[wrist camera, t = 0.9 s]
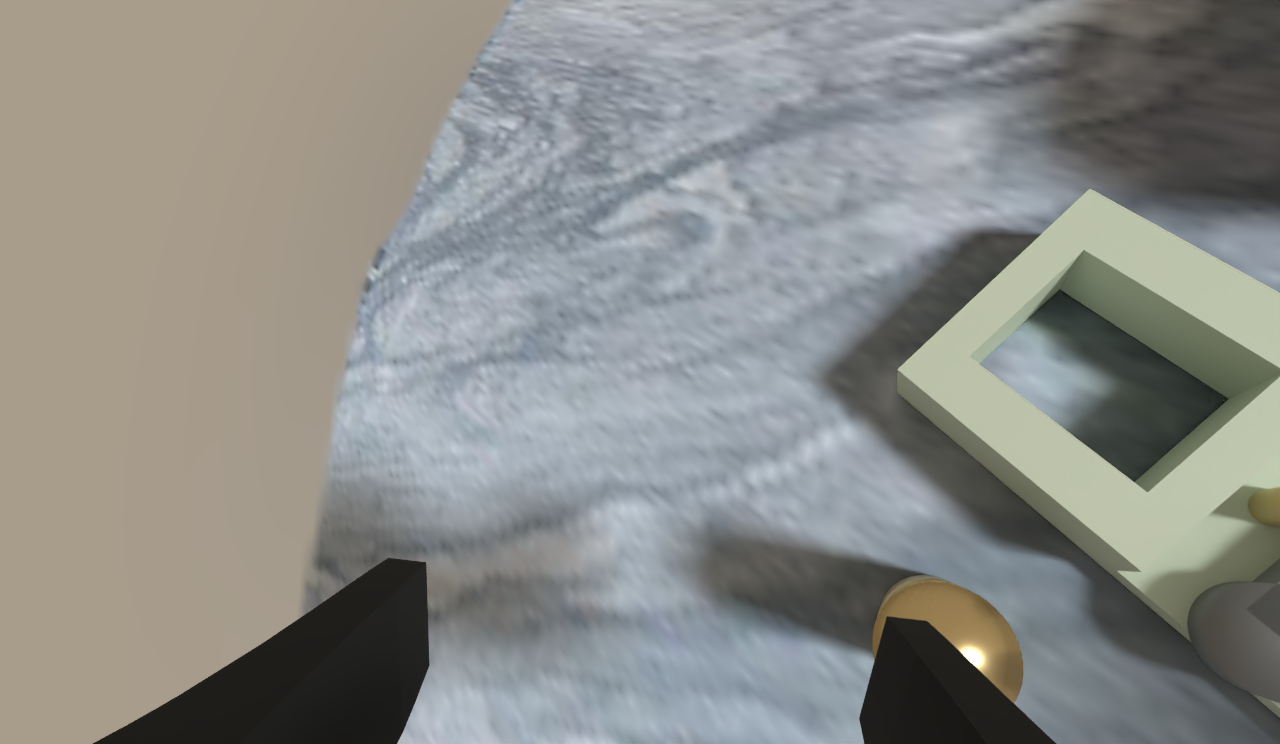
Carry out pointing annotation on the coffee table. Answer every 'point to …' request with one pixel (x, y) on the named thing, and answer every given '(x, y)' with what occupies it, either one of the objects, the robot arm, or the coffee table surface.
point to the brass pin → (958, 626)
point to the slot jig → (1183, 478)
